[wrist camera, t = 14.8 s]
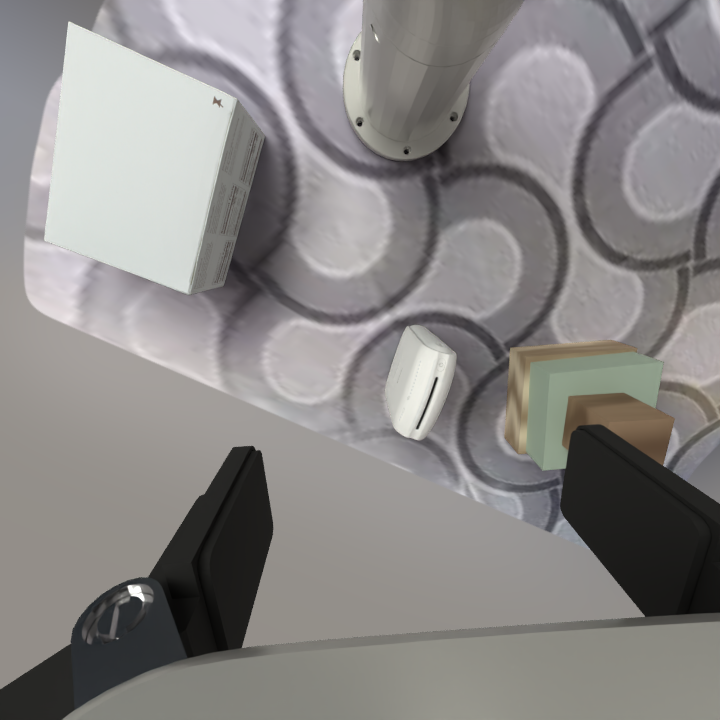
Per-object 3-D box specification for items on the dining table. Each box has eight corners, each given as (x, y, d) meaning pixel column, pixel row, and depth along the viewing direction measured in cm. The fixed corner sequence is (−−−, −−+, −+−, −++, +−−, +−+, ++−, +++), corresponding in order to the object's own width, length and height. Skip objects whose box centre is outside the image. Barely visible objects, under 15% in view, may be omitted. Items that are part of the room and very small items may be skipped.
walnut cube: (568, 395, 36) (609, 422, 31) (623, 392, 36) (674, 418, 31) (561, 444, 38) (598, 478, 32) (614, 441, 38) (660, 474, 32)
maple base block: (508, 346, 43) (526, 356, 39) (609, 339, 43) (637, 348, 39) (503, 435, 47) (518, 454, 43) (595, 428, 47) (619, 446, 43)
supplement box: (140, 78, 34) (64, 14, 25) (267, 135, 35) (239, 95, 26) (110, 244, 38) (37, 241, 29) (224, 288, 40) (188, 297, 31)
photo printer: (404, 319, 41) (426, 345, 30) (437, 328, 42) (471, 357, 30) (379, 393, 44) (390, 444, 33) (410, 401, 45) (432, 454, 33)
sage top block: (530, 362, 39) (549, 374, 36) (633, 351, 39) (663, 361, 35) (525, 451, 43) (542, 470, 39) (620, 441, 43) (646, 460, 39)
